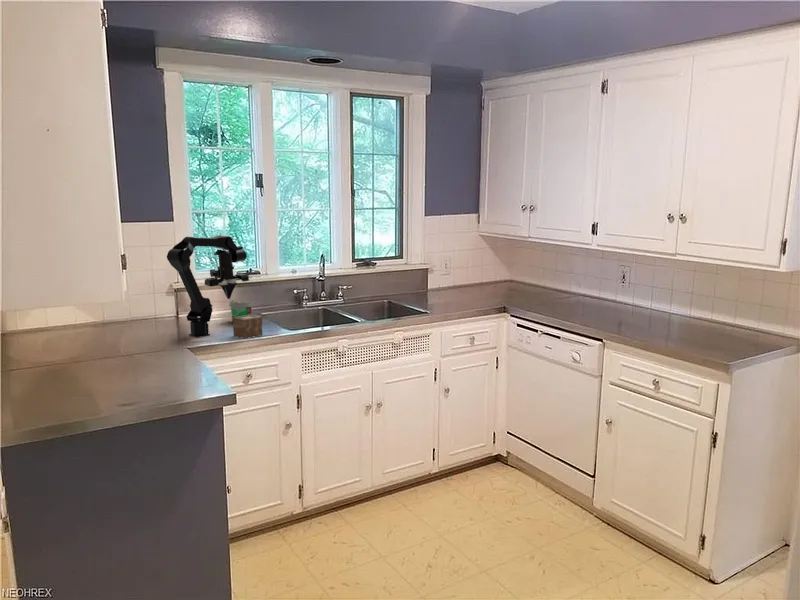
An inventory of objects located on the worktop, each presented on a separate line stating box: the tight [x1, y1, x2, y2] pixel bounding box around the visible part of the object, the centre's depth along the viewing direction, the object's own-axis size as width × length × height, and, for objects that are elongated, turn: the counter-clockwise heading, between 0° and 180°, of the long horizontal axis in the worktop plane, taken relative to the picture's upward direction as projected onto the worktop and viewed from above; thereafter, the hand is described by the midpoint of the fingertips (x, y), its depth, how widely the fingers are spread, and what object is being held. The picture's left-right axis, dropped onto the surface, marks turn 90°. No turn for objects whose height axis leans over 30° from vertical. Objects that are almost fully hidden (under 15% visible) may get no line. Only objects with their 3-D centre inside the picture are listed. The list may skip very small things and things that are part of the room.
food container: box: [228, 299, 253, 322], centre depth 288 cm, size 12×6×10 cm, turn 62°
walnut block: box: [232, 313, 263, 339], centre depth 262 cm, size 9×8×8 cm
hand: (228, 298), depth 274 cm, fingers closed
